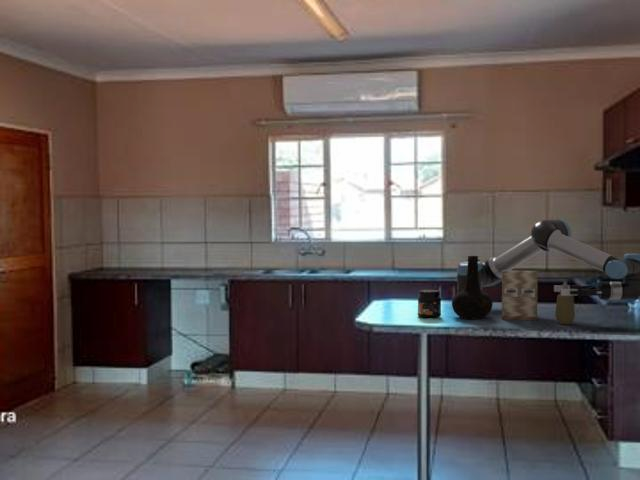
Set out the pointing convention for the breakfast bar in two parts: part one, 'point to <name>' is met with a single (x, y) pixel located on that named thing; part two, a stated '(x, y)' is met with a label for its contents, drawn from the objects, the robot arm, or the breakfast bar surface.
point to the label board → (519, 295)
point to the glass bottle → (472, 295)
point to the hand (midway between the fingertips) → (557, 290)
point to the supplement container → (429, 304)
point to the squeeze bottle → (565, 308)
